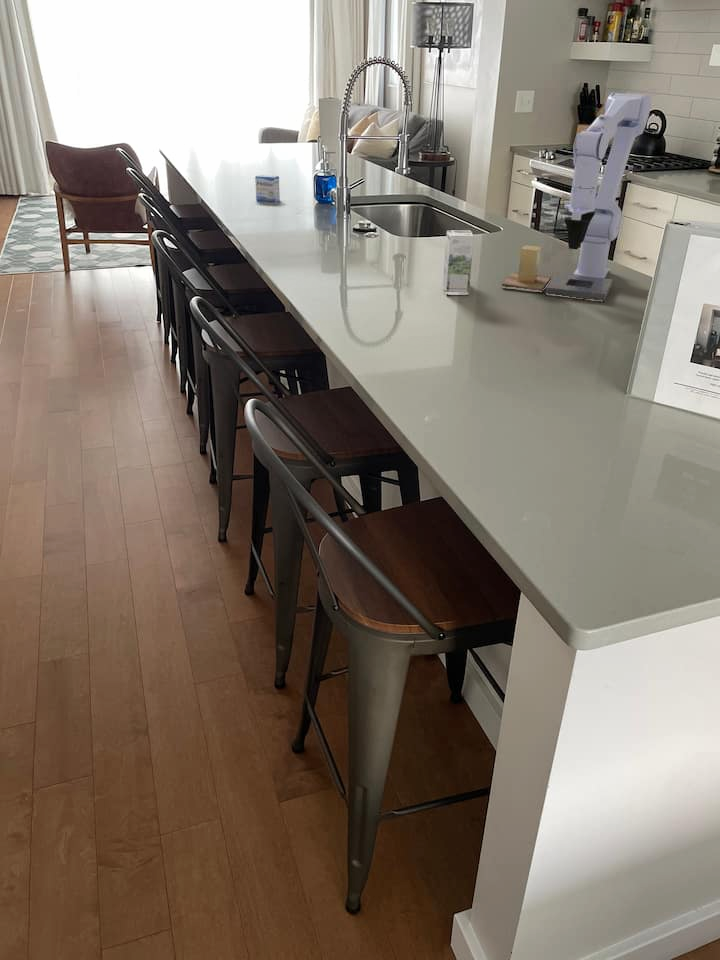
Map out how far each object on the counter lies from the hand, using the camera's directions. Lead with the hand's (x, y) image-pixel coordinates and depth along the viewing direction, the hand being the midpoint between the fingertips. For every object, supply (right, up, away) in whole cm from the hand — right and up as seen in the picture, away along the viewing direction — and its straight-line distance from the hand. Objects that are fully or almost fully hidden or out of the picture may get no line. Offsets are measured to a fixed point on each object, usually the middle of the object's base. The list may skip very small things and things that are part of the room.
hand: (575, 245), depth 192 cm
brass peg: (-10, -7, +6) cm, 14 cm away
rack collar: (+1, -11, +2) cm, 11 cm away
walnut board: (-10, -8, +7) cm, 15 cm away
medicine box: (-87, +47, +102) cm, 143 cm away
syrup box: (-29, -12, +1) cm, 31 cm away
